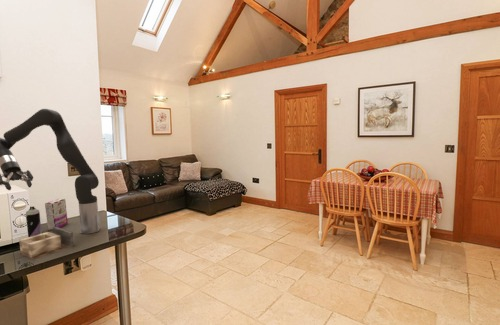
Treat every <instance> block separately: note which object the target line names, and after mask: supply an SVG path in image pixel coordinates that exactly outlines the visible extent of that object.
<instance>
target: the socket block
mask: <svg viewBox="0 0 500 325" xmlns="http://www.w3.org/2000/svg"><path fill="white" fill-rule="evenodd" d="M18 243H19V249H20V250H19V251H20V252H21V253H23V254H26V255H28V256H30V257H35V256H38V255H41V254H44V253H47V252H50V251H53V250H56V249H59V248H61V238H60V236H59V235H56V234H53V232H51V231H45V232H42V234H39V235H35V236H31V237H28V236H27V237H25V238H21V239H19V240H18ZM21 253H20V254H21ZM23 254H22V255H23Z"/></svg>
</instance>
